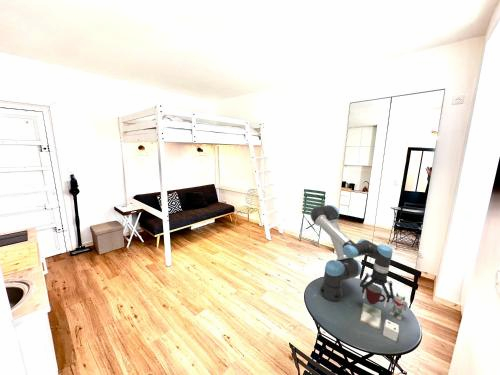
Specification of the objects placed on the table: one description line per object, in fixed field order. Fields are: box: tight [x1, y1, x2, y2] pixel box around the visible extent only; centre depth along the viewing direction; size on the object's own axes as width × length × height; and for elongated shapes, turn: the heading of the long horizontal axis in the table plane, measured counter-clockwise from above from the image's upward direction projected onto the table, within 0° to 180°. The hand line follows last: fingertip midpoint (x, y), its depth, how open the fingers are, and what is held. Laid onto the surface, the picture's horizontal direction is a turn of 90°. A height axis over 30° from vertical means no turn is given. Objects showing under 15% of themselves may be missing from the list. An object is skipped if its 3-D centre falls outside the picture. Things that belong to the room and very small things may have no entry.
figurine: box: [389, 292, 408, 321], centre depth 124 cm, size 8×8×15 cm
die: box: [382, 319, 400, 342], centre depth 112 cm, size 6×6×6 cm
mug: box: [365, 283, 386, 305], centre depth 124 cm, size 11×8×10 cm
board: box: [359, 302, 382, 331], centre depth 124 cm, size 10×16×1 cm, turn 146°
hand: (373, 301), depth 125 cm, fingers closed on mug, 10 cm apart
